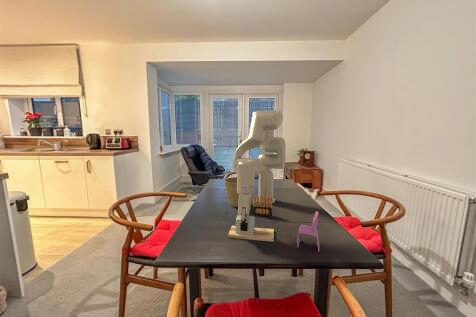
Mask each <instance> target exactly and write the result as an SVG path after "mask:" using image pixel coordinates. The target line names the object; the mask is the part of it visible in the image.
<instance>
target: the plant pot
mask: <svg viewBox="0 0 476 317" xmlns="http://www.w3.org/2000/svg"><path fill="white" fill-rule="evenodd" d="M223 180H224V187H225V188H224V189H225V193H226V196H227V200H228V202H229V206H230V207H235V208H238V199H239V193H237V176H236V177H234V176H233V177H227V178H225V179H223Z"/></svg>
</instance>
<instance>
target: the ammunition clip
mask: <svg viewBox="0 0 476 317" xmlns="http://www.w3.org/2000/svg"><path fill="white" fill-rule="evenodd" d="M256 198H257V201H256ZM252 206H253V207H252V215H253V216H258V217H259V216H260V217H261V216H262V217H270V218H273V203H272V196H270V202H269V197H268V195H267V200H265V195H264V197H263V202H262V194H261V196H260V203H259V194H258V193H257V195H256V194H255V193H253V205H252Z"/></svg>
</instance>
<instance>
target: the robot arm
mask: <svg viewBox="0 0 476 317" xmlns="http://www.w3.org/2000/svg"><path fill="white" fill-rule="evenodd" d="M250 119H251V120H250V124H249V129H248V133H247V138H246V139H244V140H243V141H242V142H241V143H240V144H239V145H238V147H237V148H236V149H235V152H234V154H233V155H234V156H233V159H232V170H233V172H234V173H236V177H237V193H239V199H238V207H237V215H238V216H240V215H241V222H240V231H248V222H247V217H248V216H251V215H250V213H251V208H252V195H254V194H255V176H258V191H257V192H258V193H257V195H258V194H259V204H260V196H261V194H262V202H263V197H264V195H265V200H267V195H268V197H269V202H270V196H272V204H274V203H276V198H274V179H275V176H274V173H273V171H272V169H273V170H275V169H276V170H283V169H284V168H285V166H286V159H287V158H286V156H287V155H286V153H287V152H286V141H285V139H284V137H279V136H277V137H276V136H275V137H274V131H276V130H278V129H279V128H280V126H281V125H282V123H283V119H284V116H283V113H282V111H281V110H274V109H273V110H255V111H253V112H252V114H251V118H250ZM258 147H259V150H260V151H261V152H262V153H261V154H259V155H258V157H257V158H251V157H250V158H249V157H243V155H244V154H246V153H247V152H248V151H250V150H253V149H255V148H258ZM256 202H257V197H256ZM245 217H246V219H245Z"/></svg>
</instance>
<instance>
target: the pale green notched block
mask: <svg viewBox="0 0 476 317" xmlns="http://www.w3.org/2000/svg"><path fill="white" fill-rule="evenodd" d="M255 216H256V215H253V216H252V215H250V216H248V217H247V222H248V231H240V222H241V215H240V216H238V214H237V216H236V218H235V226H236V233H239V234H250V235H253V234H254V227H255V222H256V220H255V219H256V218H255ZM245 219H246V217H245Z"/></svg>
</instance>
